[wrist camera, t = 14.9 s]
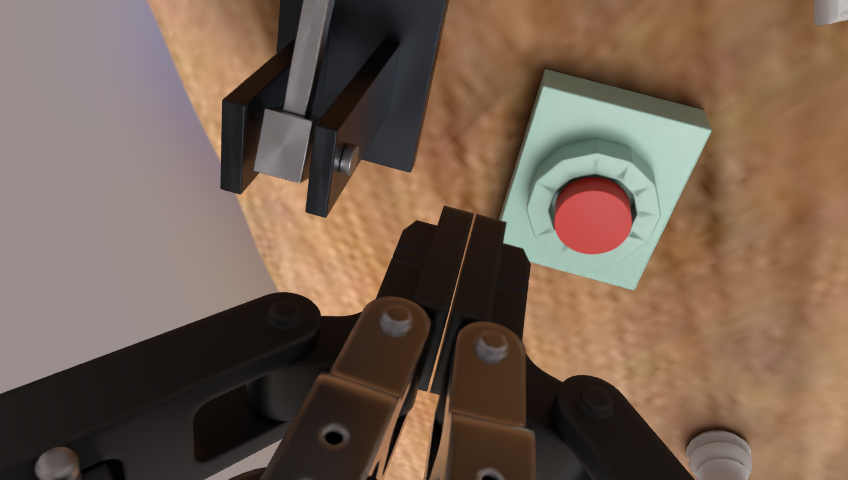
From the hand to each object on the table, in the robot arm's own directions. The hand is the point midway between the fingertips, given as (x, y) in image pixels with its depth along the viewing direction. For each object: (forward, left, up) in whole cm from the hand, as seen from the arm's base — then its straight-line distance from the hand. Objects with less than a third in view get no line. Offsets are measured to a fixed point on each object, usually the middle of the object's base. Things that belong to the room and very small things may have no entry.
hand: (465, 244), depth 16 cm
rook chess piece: (+28, +22, -24) cm, 43 cm away
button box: (+9, +6, -24) cm, 27 cm away
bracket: (+6, -9, -24) cm, 26 cm away
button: (+9, +6, -20) cm, 23 cm away
